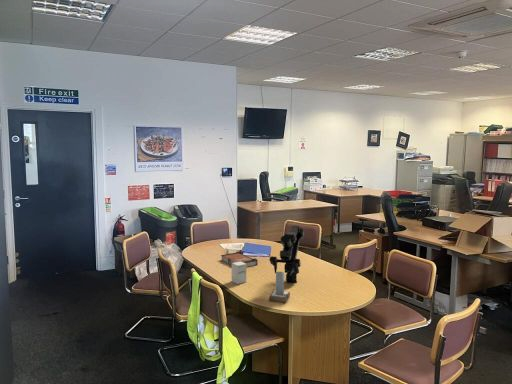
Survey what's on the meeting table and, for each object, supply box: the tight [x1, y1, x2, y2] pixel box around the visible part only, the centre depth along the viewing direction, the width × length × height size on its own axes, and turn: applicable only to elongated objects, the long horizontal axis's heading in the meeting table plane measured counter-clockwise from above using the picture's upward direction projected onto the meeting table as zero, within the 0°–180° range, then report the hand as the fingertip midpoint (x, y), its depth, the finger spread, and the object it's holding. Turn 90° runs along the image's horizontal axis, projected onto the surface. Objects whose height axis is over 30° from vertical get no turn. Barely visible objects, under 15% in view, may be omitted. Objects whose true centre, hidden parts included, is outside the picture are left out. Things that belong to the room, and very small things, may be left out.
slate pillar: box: [275, 271, 285, 295], centre depth 233 cm, size 5×5×12 cm
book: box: [220, 251, 258, 268], centre depth 305 cm, size 26×18×5 cm
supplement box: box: [231, 261, 247, 285], centre depth 262 cm, size 7×7×13 cm
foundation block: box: [268, 289, 291, 304], centre depth 234 cm, size 10×10×3 cm
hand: (282, 274), depth 239 cm, fingers open, 9 cm apart
